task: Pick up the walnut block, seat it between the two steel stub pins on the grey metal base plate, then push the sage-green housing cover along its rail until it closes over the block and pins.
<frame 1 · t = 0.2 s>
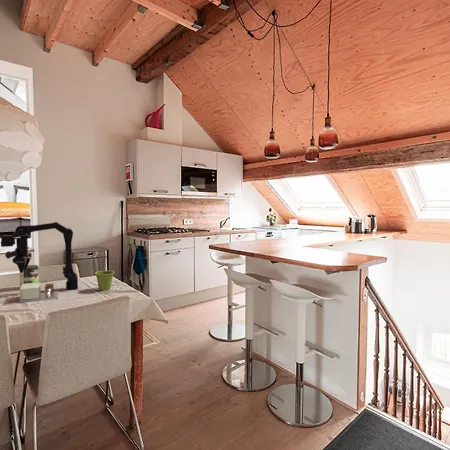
hand: (23, 271, 187), 14 cm above the table, fingers open, 9 cm apart
housing cover: (30, 290, 178), point 5 cm above the table, slide at 9.0 cm
plant pot: (105, 289, 200), on the table
coffee can: (29, 287, 201), on the table
walnut block: (49, 292, 192), on the table
housing base: (39, 297, 181), on the table
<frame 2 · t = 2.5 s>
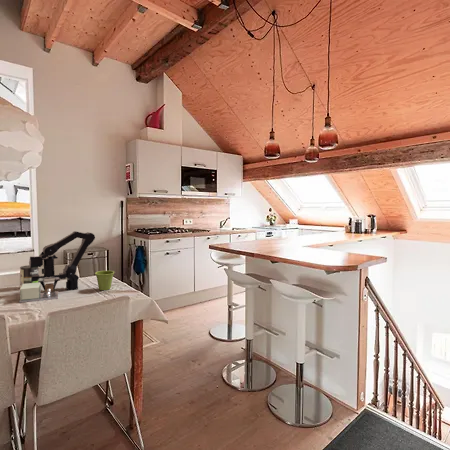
hand: (49, 290, 192), 1 cm above the table, fingers closed on walnut block, 4 cm apart
walnut block: (49, 292, 192), on the table, touching gripper
everything else where it was.
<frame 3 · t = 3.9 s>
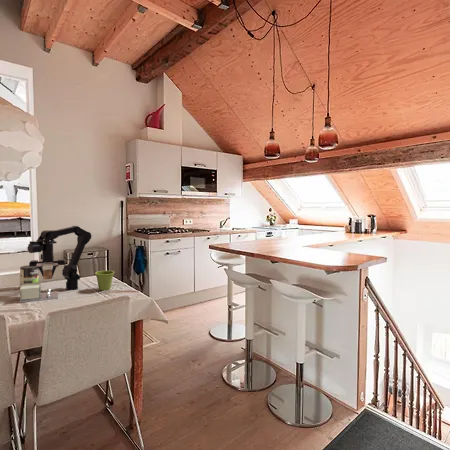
hand: (48, 276, 186), 11 cm above the table, fingers closed on walnut block, 4 cm apart
walnut block: (48, 278, 186), point 10 cm above the table, touching gripper
everything else where it was.
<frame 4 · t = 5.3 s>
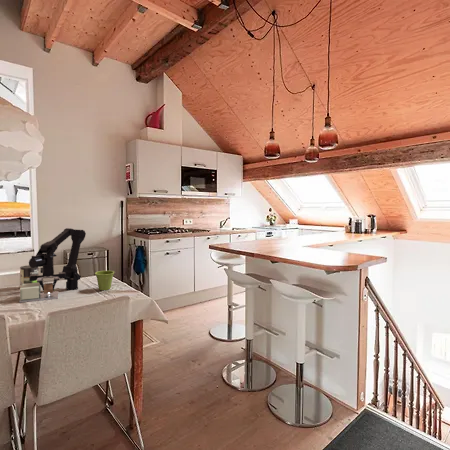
hand: (48, 290, 183), 4 cm above the table, fingers closed on walnut block, 4 cm apart
housing cover: (30, 290, 178), point 5 cm above the table, slide at 9.0 cm, touching gripper
walnut block: (48, 292, 183), point 3 cm above the table, touching gripper
everything else where it was.
when the fingers open (4 cm above the table, at t = 5.4 s): walnut block drops 2 cm, resting on housing base.
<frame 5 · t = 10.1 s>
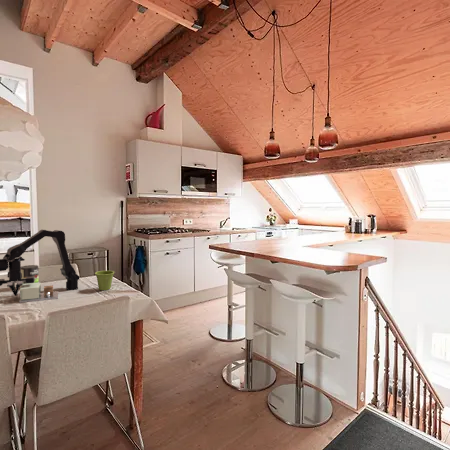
hand: (15, 295, 175), 2 cm above the table, fingers closed
walnut block: (48, 294, 183), point 1 cm above the table, touching housing base
everything else where it was.
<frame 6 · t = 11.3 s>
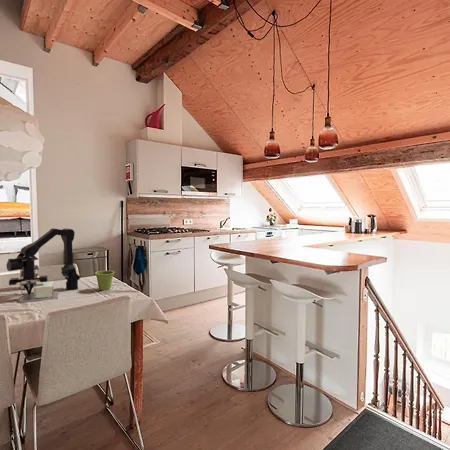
hand: (29, 294, 178), 2 cm above the table, fingers closed
housing cover: (44, 289, 182), point 5 cm above the table, slide at 2.2 cm, touching gripper
everything else where it was.
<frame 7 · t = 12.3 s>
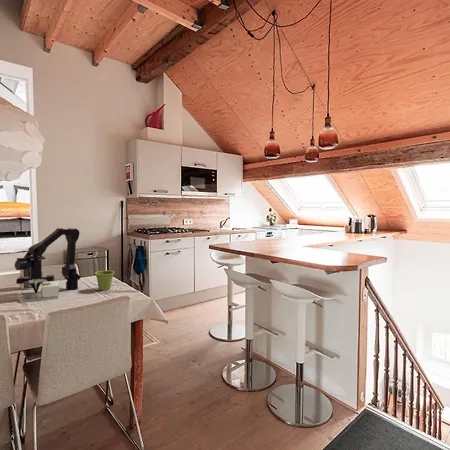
hand: (36, 293, 180), 3 cm above the table, fingers closed
housing cover: (50, 288, 183), point 5 cm above the table, slide at -1.1 cm, touching gripper
everything else where it was.
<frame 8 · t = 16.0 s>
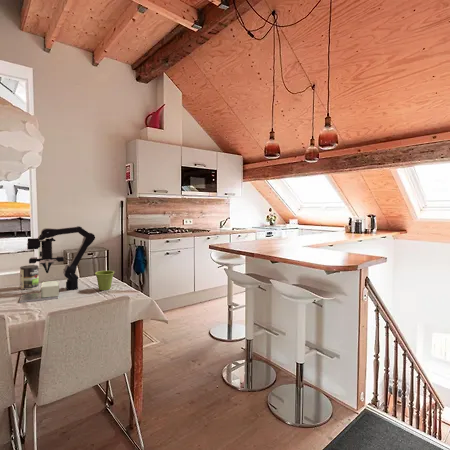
hand: (47, 273, 191), 12 cm above the table, fingers closed
housing cover: (50, 288, 183), point 5 cm above the table, slide at -1.0 cm
everything else where it was.
at the end: walnut block 0.1 cm from the target spot on the housing base, point 1.0 cm above the housing base's base; walnut block tilted 0°; housing cover slide at -1.0 cm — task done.
